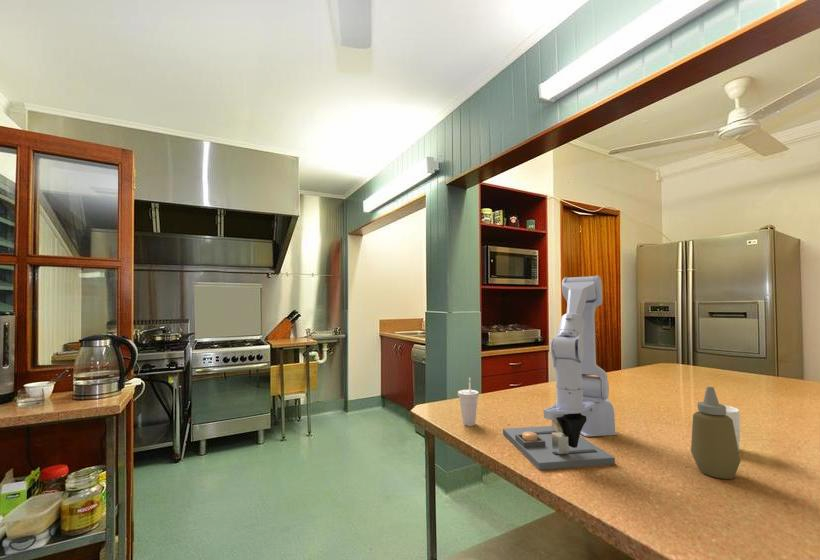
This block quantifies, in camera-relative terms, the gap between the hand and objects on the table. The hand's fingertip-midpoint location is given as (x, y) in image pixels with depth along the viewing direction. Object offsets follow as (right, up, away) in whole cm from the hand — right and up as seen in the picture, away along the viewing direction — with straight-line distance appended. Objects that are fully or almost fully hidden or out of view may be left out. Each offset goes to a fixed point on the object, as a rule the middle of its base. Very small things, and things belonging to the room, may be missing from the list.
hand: (571, 446), depth 85 cm
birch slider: (+2, -2, +13) cm, 14 cm away
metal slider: (-3, -1, 0) cm, 3 cm away
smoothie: (-20, -5, +26) cm, 33 cm away
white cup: (+39, -3, +4) cm, 39 cm away
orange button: (-8, -2, +6) cm, 10 cm away
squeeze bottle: (+27, -2, -8) cm, 28 cm away
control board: (-2, -4, +7) cm, 8 cm away
